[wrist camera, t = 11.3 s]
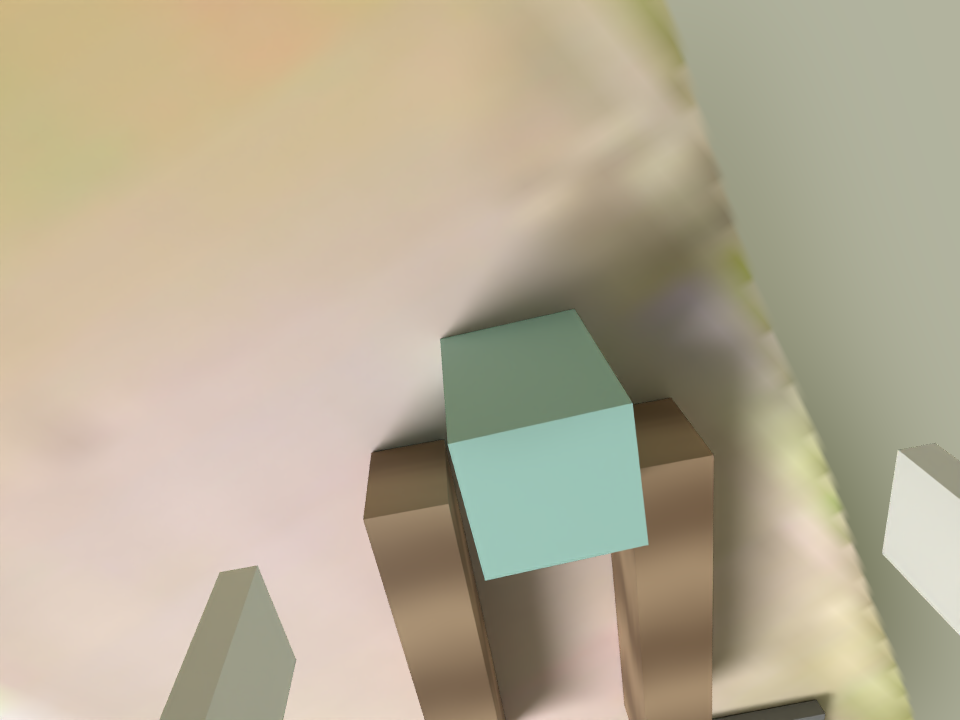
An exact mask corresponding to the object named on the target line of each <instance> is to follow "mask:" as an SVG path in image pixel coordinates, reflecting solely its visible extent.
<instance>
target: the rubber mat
mask: <svg viewBox="0 0 960 720" xmlns="http://www.w3.org/2000/svg"><path fill="white" fill-rule="evenodd" d="M713 720H825V713H824V711H823V709H822V708H821V706H820V705H819V703H818V701H817V700H814V701H808V702H803V703H798V704H792V705H787V706H782V707H776V708H771V709H766V710H761V711H755V712H750V713H745V714H739V715H734V716H729V717H723V718H718V719H713Z"/></svg>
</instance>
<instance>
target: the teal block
mask: <svg viewBox="0 0 960 720" xmlns="http://www.w3.org/2000/svg"><path fill="white" fill-rule="evenodd" d="M440 342H441V356H442V370H443V385H444V399H445V413H446V427H447V442H448V447H449V451H450V455H451V458H452V462H453V465H454V469H455V473H456V476H457V480H458V484H459V487H460V491H461V495H462V498H463V502H464V506H465V509H466V513H467V516H468V520H469V524H470V527H471V531H472V535H473V538H474V542H475V546H476V549H477V553H478V556H479V560H480V564H481V567H482V571H483V575H484V578H485V581H486V580H491V579H495V578H500V577H504V576H509V575H513V574H518V573H522V572H527V571H532V570H536V569H541V568H545V567H550V566H554V565H559V564H563V563H568V562H573V561H577V560H582V559H586V558H591V557H595V556H600V555H604V554H609V553H613V552H618V551H623V550H627V549H632V548H636V547H641V546H645V545H649V544H648V535H647V527H646V518H645V509H644V500H643V491H642V482H641V473H640V465H639V456H638V447H637V438H636V429H635V420H634V411H633V403H632V401H631V400H630V398H629V397H628V395H627V393H626V392H625V390H624V388H623V387H622V385H621V384H620V382H619V380H618V379H617V377H616V376H615V374H614V372H613V371H612V369H611V367H610V366H609V364H608V363H607V361H606V359H605V358H604V356H603V354H602V353H601V351H600V350H599V348H598V346H597V345H596V343H595V342H594V340H593V338H592V337H591V335H590V333H589V332H588V330H587V329H586V327H585V325H584V324H583V322H582V321H581V319H580V317H579V316H578V314H577V312H576V311H575V309H571V310H567V311H562V312H558V313H554V314H549V315H545V316H540V317H536V318H531V319H527V320H523V321H518V322H514V323H509V324H505V325H500V326H496V327H492V328H487V329H483V330H478V331H474V332H469V333H465V334H461V335H456V336H452V337H447V338H443V339H440Z"/></svg>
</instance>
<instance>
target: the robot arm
mask: <svg viewBox="0 0 960 720" xmlns="http://www.w3.org/2000/svg"><path fill="white" fill-rule="evenodd" d="M882 554H883V555H884V556H885V557H886V558H887V559H888V560H889V561H890V562H891V563H892V564H893V565H894V566H895V567H896V569H898V571H900V573H901V574H902V575H903V576H904V577H905V578H906V579H907V580H908V581H909V582H910V583H911V584H912V585H913V586H914V588H915V589H917V591H918V592H919V593H920V594H921V595H922V596H923V597H924V598H925V599H926V600H927V601H928V602H929V603H930V604H931V605H932V606H933V608H934V609H935V610H936V611H937V612H938V613H939V614H940V615H941V616H942V617H943V618H944V619H945V620H946V621H947V622H948V623H949V624H950V626H951V627H952V628H953V629H954V630H955V631H956V632H957V633H958V634H959V635H960V461H959V460H958V459H956V458H955V457H953V456H952V455H951V454H949V453H948V452H947V451H945V450H944V449H942V448H941V447H940V446H938V445H937V444H936V443H933V444H927V445H922V446H916V447H911V448H905V449H900V450H898V453H897V459H896V467H895V473H894V479H893V486H892V493H891V499H890V506H889V513H888V519H887V525H886V532H885V539H884V546H883V553H882ZM295 663H296V658H295V656H294V653H293V651H292V649H291V646H290V644H289V641H288V639H287V636H286V634H285V632H284V629H283V627H282V624H281V622H280V619H279V617H278V614H277V612H276V610H275V607H274V605H273V602H272V600H271V597H270V595H269V593H268V590H267V588H266V585H265V583H264V580H263V578H262V576H261V573H260V571H259V568H258V566H252V567H247V568H241V569H236V570H230V571H225V572H220V573H219V576H218V578H217V580H216V583H215V585H214V588H213V590H212V593H211V595H210V598H209V600H208V602H207V605H206V607H205V610H204V612H203V615H202V617H201V620H200V622H199V625H198V627H197V629H196V632H195V634H194V637H193V639H192V642H191V644H190V647H189V649H188V651H187V654H186V656H185V659H184V661H183V664H182V666H181V669H180V671H179V673H178V676H177V678H176V681H175V683H174V686H173V688H172V691H171V693H170V695H169V698H168V700H167V703H166V705H165V708H164V710H163V713H162V715H161V717H160V720H283V718H284V713H285V709H286V704H287V699H288V695H289V690H290V686H291V681H292V677H293V672H294V667H295Z"/></svg>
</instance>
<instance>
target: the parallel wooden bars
mask: <svg viewBox="0 0 960 720" xmlns="http://www.w3.org/2000/svg"><path fill="white" fill-rule="evenodd" d="M633 411H634V420H635V429H636V438H637V447H638V456H639V465H640V473H641V482H642V491H643V500H644V509H645V518H646V527H647V535H648V544H649V545H645V546H641V547H636V548H632V549H627V550H623V551H618V552H613V553H611V556H612V567H613V579H614V590H615V602H616V613H617V625H618V636H619V648H620V659H621V671H622V682H623V694H624V705H625V709H626V712H627V715H628V718H629V720H712V632H713V499H714V455H713V453H712V452H711V451H710V449H709V448H708V447H707V445H706V444H705V443H704V441H703V440H702V439H701V437H700V436H699V435H698V433H697V432H696V431H695V429H694V428H693V427H692V425H691V424H690V423H689V421H688V420H687V419H686V417H685V416H684V415H683V413H682V412H681V411H680V409H679V408H678V407H677V405H676V404H675V403H674V401H673V400H672V398H668V399H662V400H657V401H651V402H646V403H641V404H635V405H633ZM363 520H364V524H365V527H366V530H367V533H368V537H369V540H370V543H371V546H372V550H373V553H374V556H375V559H376V563H377V566H378V569H379V572H380V576H381V579H382V582H383V585H384V589H385V592H386V595H387V598H388V602H389V605H390V608H391V611H392V615H393V618H394V621H395V624H396V628H397V631H398V634H399V637H400V641H401V644H402V647H403V650H404V654H405V657H406V660H407V663H408V667H409V670H410V673H411V676H412V680H413V683H414V686H415V689H416V693H417V696H418V699H419V702H420V706H421V709H422V712H423V715H424V719H425V720H505V715H504V710H503V706H502V701H501V697H500V692H499V688H498V683H497V678H496V674H495V669H494V665H493V660H492V656H491V651H490V647H489V642H488V637H487V633H486V628H485V624H484V619H483V615H482V610H481V605H480V601H479V596H478V592H477V587H476V583H475V578H474V573H473V569H472V564H471V560H470V555H469V551H468V546H467V541H466V537H465V532H464V528H463V523H462V519H461V514H460V509H459V505H458V500H457V496H456V491H455V487H454V482H453V477H452V473H451V468H450V464H449V459H448V455H447V450H446V445H445V441H444V440H438V441H433V442H427V443H422V444H416V445H411V446H405V447H400V448H394V449H389V450H383V451H378V452H373V453H371V461H370V469H369V477H368V485H367V494H366V502H365V510H364V518H363Z"/></svg>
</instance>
